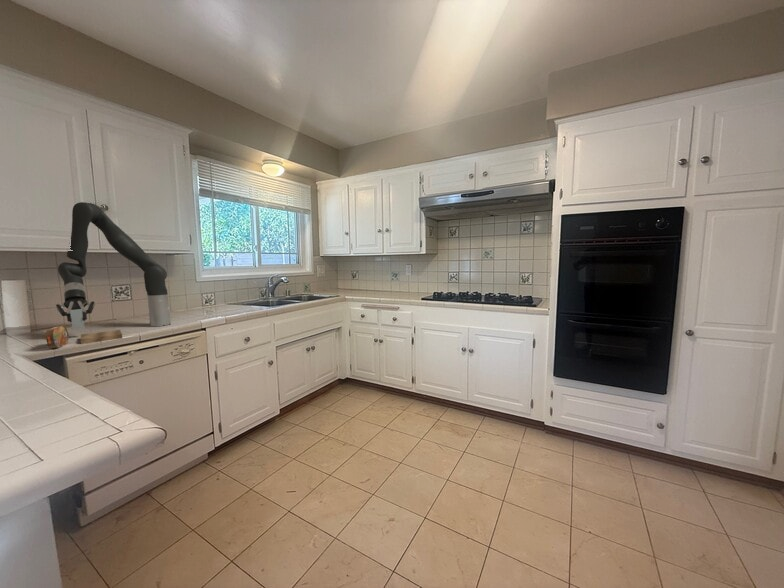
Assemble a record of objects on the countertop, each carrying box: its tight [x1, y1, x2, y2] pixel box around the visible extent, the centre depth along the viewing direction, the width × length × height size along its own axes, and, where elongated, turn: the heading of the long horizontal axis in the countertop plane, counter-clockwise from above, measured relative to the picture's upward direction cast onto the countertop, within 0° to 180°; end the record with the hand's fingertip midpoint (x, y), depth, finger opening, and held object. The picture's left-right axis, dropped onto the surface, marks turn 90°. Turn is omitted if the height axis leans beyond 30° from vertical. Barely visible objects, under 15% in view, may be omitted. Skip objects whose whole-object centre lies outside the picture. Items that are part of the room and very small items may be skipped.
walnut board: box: [80, 329, 123, 345], centre depth 151 cm, size 14×14×2 cm
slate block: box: [70, 309, 85, 330], centre depth 154 cm, size 4×4×9 cm
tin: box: [45, 325, 69, 350], centre depth 137 cm, size 15×3×8 cm, turn 29°
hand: (77, 320), depth 153 cm, fingers closed on slate block, 4 cm apart
